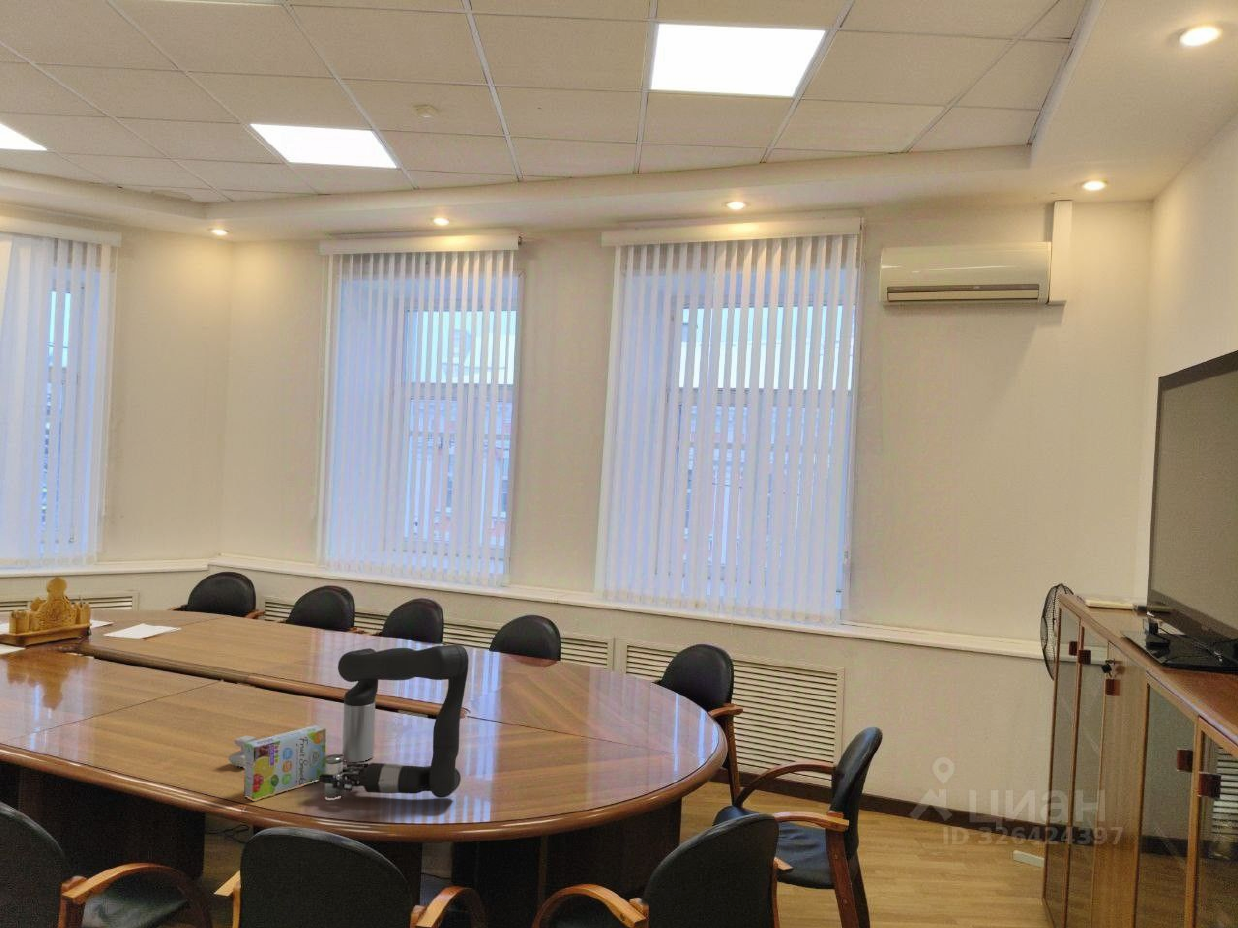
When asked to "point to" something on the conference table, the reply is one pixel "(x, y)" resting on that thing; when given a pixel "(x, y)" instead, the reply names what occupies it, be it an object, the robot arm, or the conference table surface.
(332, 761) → the metal tin
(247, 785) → the snack box
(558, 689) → the conference table surface
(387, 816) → the conference table surface
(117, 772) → the conference table surface
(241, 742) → the white blocky piece
